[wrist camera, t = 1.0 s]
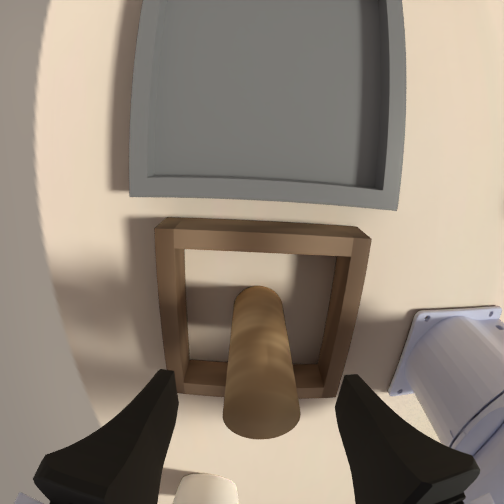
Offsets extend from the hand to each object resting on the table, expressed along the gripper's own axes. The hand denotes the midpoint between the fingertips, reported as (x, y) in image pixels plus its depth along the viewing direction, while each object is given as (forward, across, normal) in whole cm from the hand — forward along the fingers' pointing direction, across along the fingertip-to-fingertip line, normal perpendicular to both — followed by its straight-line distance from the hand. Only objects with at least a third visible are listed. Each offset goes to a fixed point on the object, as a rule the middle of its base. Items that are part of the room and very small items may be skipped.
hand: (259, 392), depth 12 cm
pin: (+8, 0, 0) cm, 8 cm away
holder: (+8, 0, 0) cm, 8 cm away
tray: (+8, 0, -14) cm, 16 cm away
